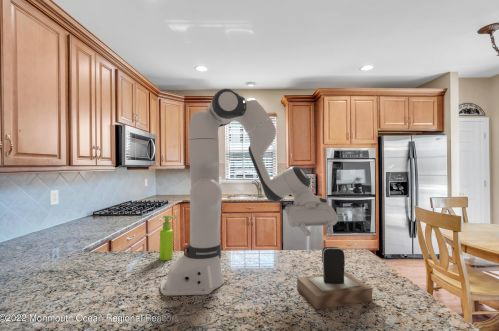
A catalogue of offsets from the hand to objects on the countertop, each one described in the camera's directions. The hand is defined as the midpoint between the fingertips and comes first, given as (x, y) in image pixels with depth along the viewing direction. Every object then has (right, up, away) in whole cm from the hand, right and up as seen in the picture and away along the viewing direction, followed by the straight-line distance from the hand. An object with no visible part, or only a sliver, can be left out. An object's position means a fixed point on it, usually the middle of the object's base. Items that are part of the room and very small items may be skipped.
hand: (319, 234), depth 89 cm
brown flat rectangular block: (+2, -18, -8) cm, 20 cm away
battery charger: (+2, -14, -8) cm, 16 cm away
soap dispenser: (-65, -19, +25) cm, 72 cm away
